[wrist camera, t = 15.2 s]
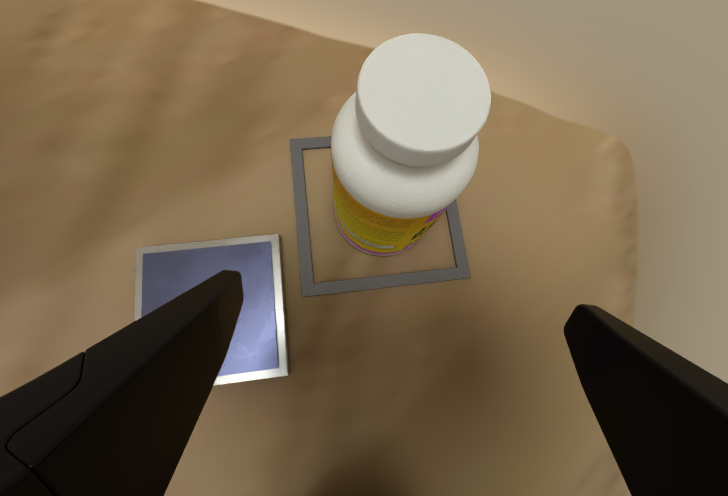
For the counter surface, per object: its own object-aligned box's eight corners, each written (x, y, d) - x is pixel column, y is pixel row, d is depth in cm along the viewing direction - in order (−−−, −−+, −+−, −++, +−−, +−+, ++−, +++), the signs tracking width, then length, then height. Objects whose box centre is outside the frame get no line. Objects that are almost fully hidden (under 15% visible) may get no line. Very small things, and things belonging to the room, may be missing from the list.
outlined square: (469, 277, 23) (470, 277, 23) (302, 297, 22) (302, 296, 22) (441, 129, 25) (442, 128, 25) (290, 140, 24) (289, 139, 24)
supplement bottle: (403, 274, 23) (478, 215, 10) (318, 232, 23) (289, 125, 11) (440, 193, 24) (545, 57, 12) (360, 155, 25) (378, -18, 12)
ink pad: (289, 373, 21) (287, 375, 20) (140, 393, 20) (130, 397, 19) (280, 236, 23) (277, 233, 22) (143, 250, 22) (134, 246, 21)
